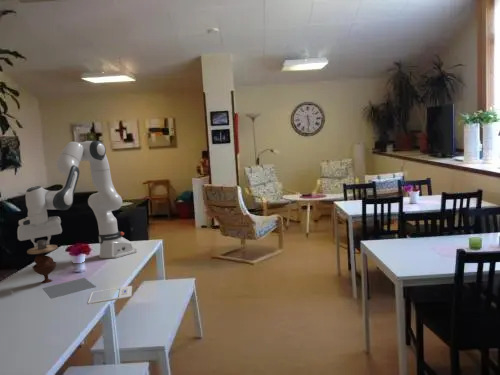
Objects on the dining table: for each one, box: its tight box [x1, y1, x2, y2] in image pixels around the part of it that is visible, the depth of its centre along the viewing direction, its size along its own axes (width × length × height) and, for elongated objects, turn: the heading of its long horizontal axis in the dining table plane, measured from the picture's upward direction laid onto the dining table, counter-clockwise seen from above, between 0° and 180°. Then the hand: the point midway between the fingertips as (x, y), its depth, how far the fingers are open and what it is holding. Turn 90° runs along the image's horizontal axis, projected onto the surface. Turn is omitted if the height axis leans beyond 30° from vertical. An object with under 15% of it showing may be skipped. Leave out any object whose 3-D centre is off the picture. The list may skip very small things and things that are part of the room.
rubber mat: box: [42, 277, 97, 299], centre depth 210 cm, size 20×20×1 cm
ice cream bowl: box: [32, 253, 57, 284], centre depth 222 cm, size 11×11×15 cm
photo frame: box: [87, 285, 133, 305], centre depth 196 cm, size 15×1×18 cm
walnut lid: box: [26, 239, 58, 255], centre depth 221 cm, size 14×14×5 cm
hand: (41, 245), depth 221 cm, fingers closed on walnut lid, 4 cm apart
